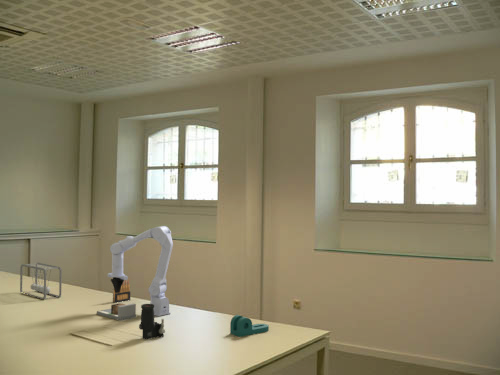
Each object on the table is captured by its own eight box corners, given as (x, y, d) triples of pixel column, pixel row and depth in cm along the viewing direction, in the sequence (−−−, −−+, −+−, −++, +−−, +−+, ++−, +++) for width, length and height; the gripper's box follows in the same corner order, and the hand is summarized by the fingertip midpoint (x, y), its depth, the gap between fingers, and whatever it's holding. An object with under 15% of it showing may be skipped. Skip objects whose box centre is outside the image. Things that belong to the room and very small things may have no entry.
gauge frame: (136, 317, 259) (136, 304, 259) (120, 320, 252) (121, 307, 252) (111, 311, 272) (112, 298, 272) (96, 314, 265) (96, 301, 265)
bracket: (239, 337, 226) (239, 319, 226) (230, 334, 231) (230, 316, 232) (271, 331, 237) (271, 313, 237) (262, 327, 243) (262, 310, 243)
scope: (165, 304, 225) (145, 308, 218) (165, 337, 225) (145, 341, 217) (154, 301, 230) (134, 305, 223) (153, 333, 230) (134, 337, 223)
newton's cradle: (19, 293, 317) (20, 263, 317) (36, 291, 325) (37, 262, 325) (44, 300, 297) (44, 268, 298) (61, 298, 305) (62, 267, 305)
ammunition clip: (114, 303, 293) (114, 281, 293) (112, 302, 294) (112, 280, 294) (130, 300, 301) (130, 279, 301) (128, 299, 302) (128, 278, 302)
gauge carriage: (125, 312, 261) (125, 303, 261) (114, 315, 256) (114, 305, 256) (119, 311, 265) (119, 302, 265) (108, 313, 260) (108, 304, 260)
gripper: (132, 266, 272) (132, 293, 272) (115, 264, 281) (115, 289, 281) (121, 268, 267) (120, 295, 267) (104, 265, 276) (104, 291, 276)
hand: (117, 292), depth 274 cm, fingers closed
